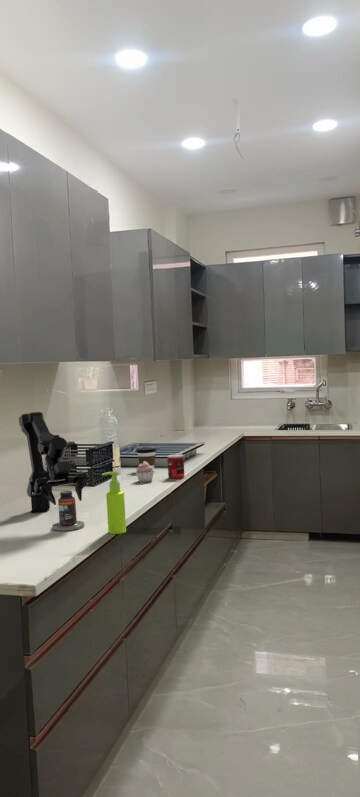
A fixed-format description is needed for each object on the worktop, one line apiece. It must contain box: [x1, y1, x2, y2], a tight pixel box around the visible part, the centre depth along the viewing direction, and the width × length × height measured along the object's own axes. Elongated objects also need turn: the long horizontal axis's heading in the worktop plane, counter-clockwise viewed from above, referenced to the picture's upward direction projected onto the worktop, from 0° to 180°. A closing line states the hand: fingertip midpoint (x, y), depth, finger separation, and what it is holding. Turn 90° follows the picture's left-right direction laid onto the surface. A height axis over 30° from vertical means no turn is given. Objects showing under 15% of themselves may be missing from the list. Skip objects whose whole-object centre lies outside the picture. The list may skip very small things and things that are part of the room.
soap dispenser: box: [101, 471, 127, 535], centre depth 203 cm, size 6×7×20 cm
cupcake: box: [134, 461, 155, 483], centre depth 295 cm, size 9×9×10 cm
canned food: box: [166, 453, 185, 480], centre depth 300 cm, size 8×8×11 cm
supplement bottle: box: [57, 490, 78, 526], centre depth 213 cm, size 6×6×11 cm
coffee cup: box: [135, 446, 157, 471], centre depth 325 cm, size 11×11×12 cm
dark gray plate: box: [51, 520, 85, 533], centre depth 213 cm, size 11×11×1 cm
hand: (68, 502), depth 211 cm, fingers open, 9 cm apart
